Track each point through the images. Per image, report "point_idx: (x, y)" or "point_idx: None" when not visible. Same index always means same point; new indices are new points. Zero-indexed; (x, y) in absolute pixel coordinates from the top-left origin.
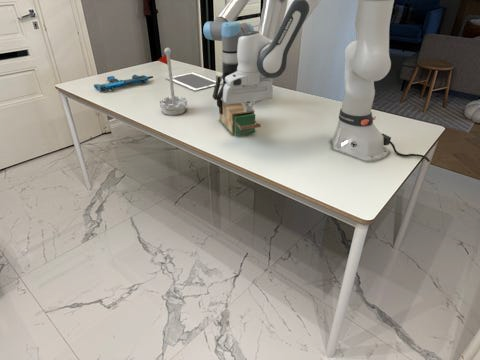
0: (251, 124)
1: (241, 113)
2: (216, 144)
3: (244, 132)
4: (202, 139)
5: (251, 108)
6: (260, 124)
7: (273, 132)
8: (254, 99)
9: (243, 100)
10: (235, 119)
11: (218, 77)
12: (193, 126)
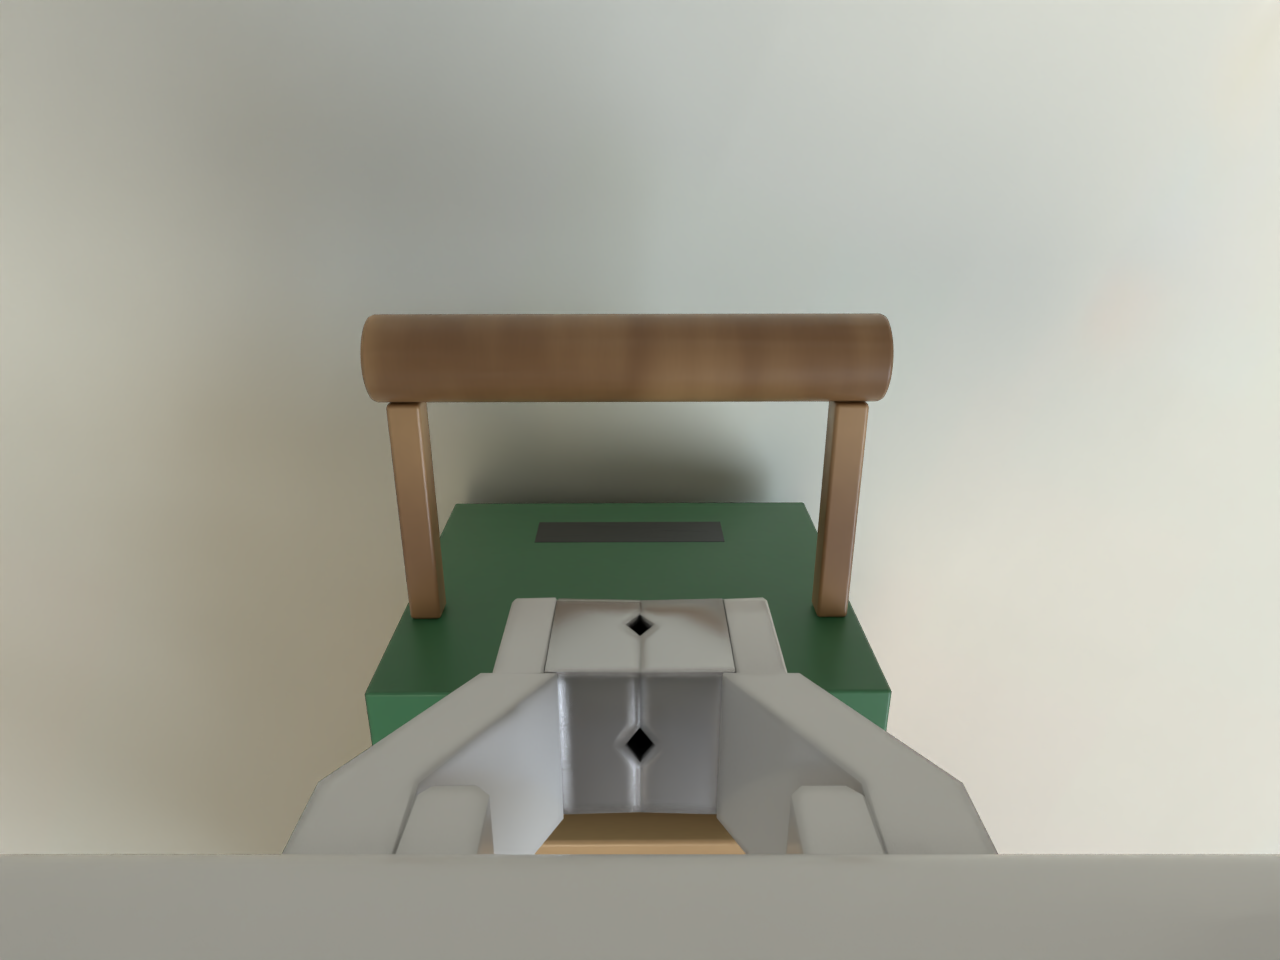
0: (499, 572)
1: (676, 819)
2: (1188, 365)
3: (645, 512)
4: (1274, 592)
5: (528, 648)
6: (365, 329)
7: (138, 432)
8: (283, 914)
9: (1160, 947)
10: (878, 665)
11: None
12: None
